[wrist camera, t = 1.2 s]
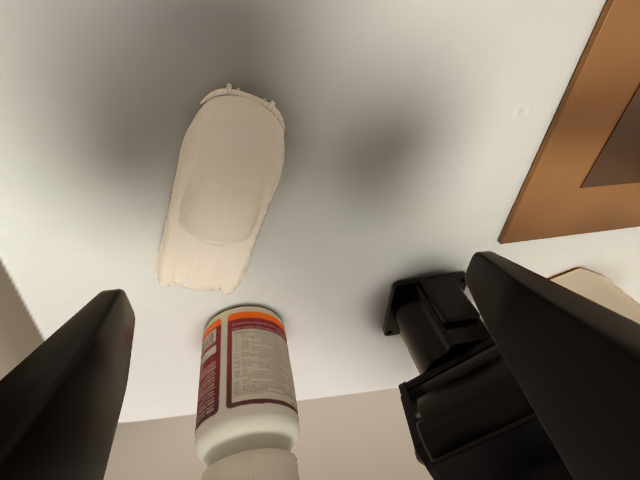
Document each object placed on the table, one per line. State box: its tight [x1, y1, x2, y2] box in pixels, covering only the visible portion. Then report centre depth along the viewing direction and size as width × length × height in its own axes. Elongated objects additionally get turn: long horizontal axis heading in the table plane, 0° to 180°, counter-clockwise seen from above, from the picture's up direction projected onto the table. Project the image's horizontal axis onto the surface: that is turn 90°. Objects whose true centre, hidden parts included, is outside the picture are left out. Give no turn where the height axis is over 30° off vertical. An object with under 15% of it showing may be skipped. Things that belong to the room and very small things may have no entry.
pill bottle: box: [195, 306, 299, 480], centre depth 21 cm, size 6×6×11 cm
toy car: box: [156, 84, 285, 294], centre depth 17 cm, size 5×12×4 cm, turn 156°
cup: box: [550, 268, 640, 324], centre depth 26 cm, size 11×11×18 cm
